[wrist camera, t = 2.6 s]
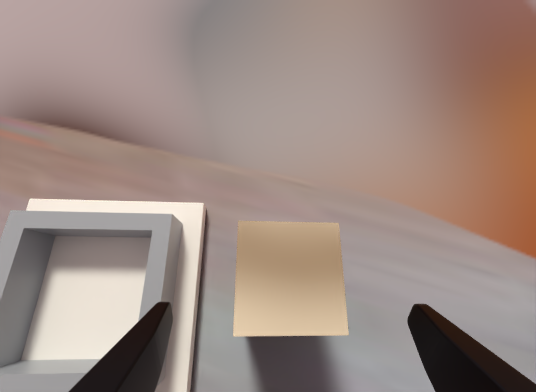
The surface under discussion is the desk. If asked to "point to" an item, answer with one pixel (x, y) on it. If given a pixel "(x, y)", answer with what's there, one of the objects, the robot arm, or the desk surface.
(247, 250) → the block
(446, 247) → the desk surface
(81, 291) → the square tray
